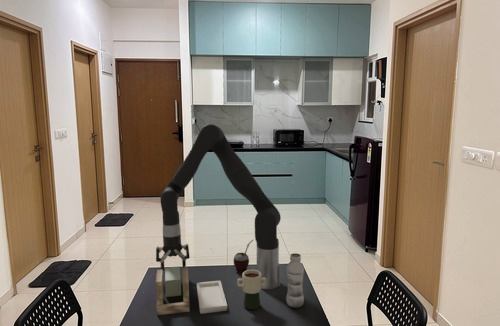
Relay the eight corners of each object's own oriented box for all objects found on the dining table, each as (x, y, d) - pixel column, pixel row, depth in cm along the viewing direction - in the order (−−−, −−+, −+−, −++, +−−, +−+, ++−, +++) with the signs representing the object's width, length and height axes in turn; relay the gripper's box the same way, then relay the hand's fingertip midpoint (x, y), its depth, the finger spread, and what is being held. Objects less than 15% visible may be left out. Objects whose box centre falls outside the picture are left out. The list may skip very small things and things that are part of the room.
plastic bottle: (303, 311, 132) (304, 259, 129) (285, 309, 133) (285, 258, 130) (304, 301, 138) (305, 252, 135) (286, 300, 139) (287, 251, 136)
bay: (188, 295, 143) (187, 267, 141) (189, 311, 132) (188, 280, 130) (158, 298, 141) (157, 269, 139) (157, 315, 130) (155, 284, 128)
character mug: (265, 300, 139) (265, 269, 137) (267, 310, 132) (267, 277, 130) (237, 301, 138) (237, 269, 137) (237, 311, 131) (237, 278, 130)
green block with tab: (179, 276, 160) (179, 261, 159) (181, 295, 143) (180, 279, 142) (166, 278, 159) (165, 263, 158) (165, 297, 142) (165, 280, 141)
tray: (220, 284, 152) (220, 280, 151) (227, 310, 132) (227, 305, 132) (196, 287, 150) (196, 282, 149) (200, 313, 130) (200, 308, 130)
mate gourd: (230, 271, 164) (230, 240, 162) (242, 266, 170) (241, 235, 168) (242, 276, 159) (242, 244, 157) (254, 270, 165) (254, 239, 163)
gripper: (188, 229, 160) (189, 263, 163) (155, 231, 157) (157, 267, 160) (188, 234, 153) (190, 270, 155) (154, 237, 150) (156, 274, 152)
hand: (173, 268), depth 157 cm, fingers open, 8 cm apart
